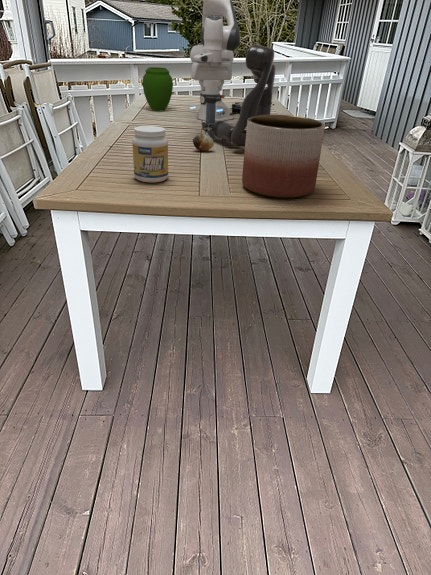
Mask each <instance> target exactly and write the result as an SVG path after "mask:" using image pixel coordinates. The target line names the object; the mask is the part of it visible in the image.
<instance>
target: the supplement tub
mask: <svg viewBox="0 0 431 575" xmlns="http://www.w3.org/2000/svg"><path fill="white" fill-rule="evenodd" d="M133 130H134V131H133V134H134V136H133V137H132V140H131V144H132V160H133V176H134V178H135V179H136V180H138V181H139V182H143V183H161V182H164V181H166V180H167V179H168V177H169V141H168V138H167V137H166V128H164V127H162V126H157V125H139V126H136V127H134V128H133Z"/></svg>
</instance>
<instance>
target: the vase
mask: <svg viewBox="0 0 431 575" xmlns="http://www.w3.org/2000/svg"><path fill="white" fill-rule="evenodd" d="M141 84H142V89H143V94H144V97H145V100H146V102H147V104H148V107H149V108H150V109H151V110H152V111H154V112H164V111H165V110H166V109H167V108H168V106H169V104H170V102H171V99H172V95H173V88H174V82H173V77H172V76H171V74H170V70H169V69H167V67H155V66H154V67H151V66H149V67H148V68H147V69H145V73H144V74H143V76H142V81H141Z"/></svg>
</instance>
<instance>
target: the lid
mask: <svg viewBox="0 0 431 575" xmlns="http://www.w3.org/2000/svg"><path fill="white" fill-rule="evenodd" d="M205 101H206V102H209V103H216V102H217V98H216V97H206V100H205Z"/></svg>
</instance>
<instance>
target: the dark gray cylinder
mask: <svg viewBox="0 0 431 575" xmlns="http://www.w3.org/2000/svg"><path fill="white" fill-rule="evenodd" d="M215 112H216V103H209V102H206V120H205V123H215V122H216V121H215ZM207 127H208V126H207ZM205 132H207V133H208V135H209V136H210V137H211V138H212V139H215V137H216V136H215V135H214V133H213V132H212V131H209V130H207V131H204V133H205Z"/></svg>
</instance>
